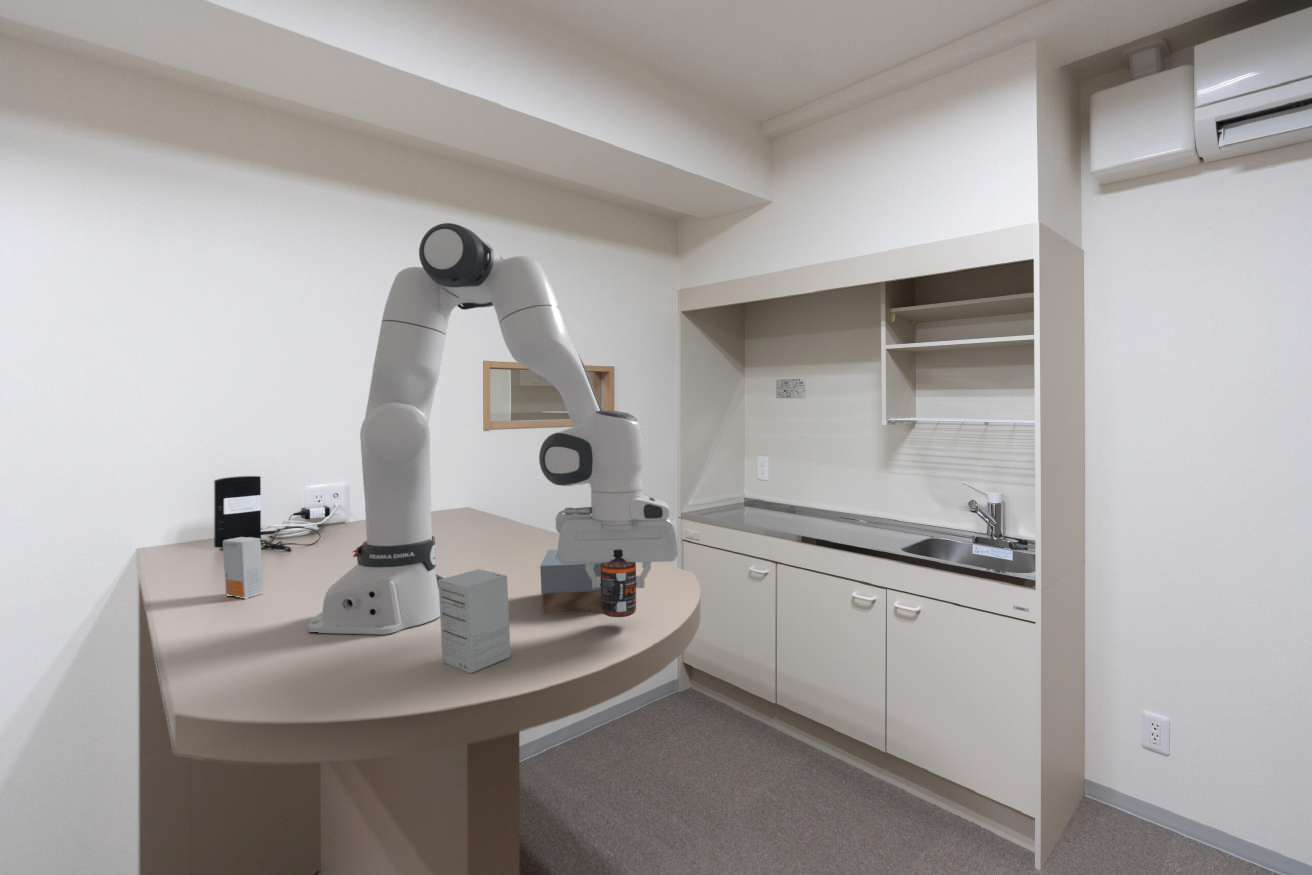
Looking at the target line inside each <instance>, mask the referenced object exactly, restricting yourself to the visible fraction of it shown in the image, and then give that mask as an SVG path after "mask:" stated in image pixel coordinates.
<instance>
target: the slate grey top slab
mask: <svg viewBox="0 0 1312 875" xmlns="http://www.w3.org/2000/svg"><path fill="white" fill-rule="evenodd" d="M539 569H540V571H539V572H540V593H541V595H543V594H551V593H573V592H596V591H601V589H592V579H591V578H590V576H589V575H588V573H587V571H586V570H585V563H581V564H562V563H561V562H560V561H559V559H558V548H557V549H547V552H546V554H545V556H544V558H543V559H542V562H541V563H540V567H539ZM592 570H593V571H594V573H595V575H596V577H601V563H594V569H592Z"/></svg>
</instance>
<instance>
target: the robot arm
mask: <svg viewBox="0 0 1312 875" xmlns="http://www.w3.org/2000/svg"><path fill="white" fill-rule="evenodd" d="M420 241H421V242H420V244H419V249H418V255H419V261H420V264H421V266H411V267H407V268H404V269H401V270H400V271H399V272H397V274H396V275H395V278H394V280H393V282H392V285H391V287H390V291H389V293H388V296H387V300H386V303H385V305H384V306H385V307H384V310H383V314H382V318H381V323H380V329H379V335H378V339H377V340H378V341H377V346H376V350H375V357H374V361H373V362H374V363H373V366H372V367H373V368H372V374H371V380H370V386H369V393H368V398H367V405H366V409H365V410H366V411H365V416H364V420H363V422H362V423H361V426H360V430H359V431H360V433H359V436H360V438H359V439H360V453H361V465H362V466H361V467H362V480H363V494H364V496H363V497H364V508H365V509H364V510H365V511H364V512H365V513H364V514H365V526H366V527H365V528H366V529H365V530H366V532H365V534H366V540H365V541H363V543H362V544H361V545H359V546H358V547H357V548H356V549H355V550H353V551H352V553H354V554H353V555H352V558H356V561H357V564H356V565H354V566H353V567H352V568H351V569H349V570H348V572H346V573H345V574H344V575H343V576H341V577H340V578H339V579H338V580H337V581H336V582H334V583H333V584H331V586H330V587H329V588H328V589H327V591H326V592H325V594H324V598H323V603H322V610H321V611H322V612H320V613H319V614H316V616H314V617H313V618H311V620H310V621H309V623H308V626H307V627H308V629H307V630H309V631H308V632H309V633H310V632H318V633H317V634H343V635H344V634H351V635H353V634H356V635H389V634H392V633H393V634H394V633H395V632H399V631H402V630H404V629H407V628H412V627H416V626H420V625H422V624H426V623H429V622H432V621H434V620H436V619H438V618H440V601H439V583H438V580H437V573H436V566H437V545H436V538H435V536H434V535H433V526H432V525H433V523H432V522H433V521H432V520H433V519H432V503H431V502H432V500H431V437H430V436H431V435H430V434H431V433H430V427H429V421H430V417H431V410H432V408H433V402H434V399H435V398H434V397H435V393H436V388H437V384H438V380H439V375H440V370H441V365H442V358H443V353H444V348H445V347H444V346H445V343H446V338H447V337H446V335H447V330H448V324H449V318H450V316H451V313H452V311H453V310H454V309H455V308H456V307H457V308H459V309H461V310H465V311H466V310H470V309H476V308H489V307H493V308H494V310H495V313H496V317H497V320H498V324H499V325H498V326H499V328H500V331H501V334H502V338H503V340H504V341H503V342H504V343H505V346H506V348H507V350H508V352H509V353H510V355H511V357H512V358H513V359H514V360H515V362H516V363H518V364H519V365H521V366H522V367H524V368H526V369H528V370H530V371H532V372H534V373H535V374H536V375H537V374H538V375H539V376H541V377H542V378H544V379H545V380H547V381H548V382H549V383H550V384H551V385H553V387H554V388H555V389H556V390H557V391H558V393H559V395H560V396H561V399H562V401H563V404H564V407H565V409H566V412H567V413H568V417H569V419H570V421H571V424H572V426H573V427H570V428H566V429H564V430H561V431H557V432H555V433H552V434H550V435H548V437H546V438H545V439H544V441H542V442H543V443H542V445H541V447H540V449H539V454H538V455H539V456H538V458H539V462H538V463H539V465H540V470H541V471H542V474H543V476H544V477H545V478H546V479H547V480H548V481H549V482H550V483H551V484H553V485H556V486H561V487H574V486H579V485H581V486H582V485H585V484H589V485H590V498H591V499H590V500H591V501H590V507H589V506H587V507H586V506H585V507H565V508H564V509H563V510H561V511H559V512H558V513H557V514H556V516H555V529H556V531H557V533H559V534H558V535H559V536H558V542H557V549H558V559H559V561H560V562H561V563H562V564H581V563H585V570H586V571H587V573H588V575H589V576H590V578H591V579H592V589H601V577H596V575H595V573H594V571H593V570H592V569H594V563H607V562H610V561H612V560H614V559H615V557H613V555H614V550H616V549H621V550H623V556H622V557H621V558H623V559H624V560H625V561H626V562H635V563H642V564H641V565H642V568H643V569H642V572H641V573H640V575H636V589H645V579H646V577H647V576H648V574H649V572H650V570H651V568H652V565H651V563H659V562H661V563H663V562H665V563H666V562H668V563H669V562H674V561H675V560H676V559H677V557H678V556H679V549H678V548H679V547H678V539H677V533H676V529H675V525H674V523H673V521H672V519H670V514H671V509H670V505H669V504H668V503H667V502H665V501H664V500H661V499H658V498H653V497H650V496H647V495H644V484H643V481H642V469H643V466H644V450H643V446H644V445H643V437H642V430H641V425H640V422H639V421H638V419H637V418H636V417H635V416H634V415H633V414H631V413H627V412H622V411H616V410H611V409H610V410H608V409H606V410H605V409H604V410H603V408H602V405H601V403H600V400H599V398H598V395H597V393H596V390H595V388H594V386H593V383H592V381H591V380H592V379H591V378H590V375H589V373H588V370H587V369H586V365H585V364H584V362H583V360H582V358H581V356H580V354H579V353H578V351H577V349H576V347H575V345H574V343H573V341H572V338H571V336H570V334H569V330H568V328H567V325H566V323H565V319H564V317H563V314H562V311H561V307H560V304H559V302H558V299H557V295H556V293H555V291H554V288H553V286H552V284H551V281H550V280H549V278H548V276H547V274H546V272H545V270H544V269H543V266H542V265H541V264H540V263H539V262H538V260H535V259H534V258H532V257H528V256H521V255H519V256H512V257H508V258H502V256H500V255H499V254H498V252H496V250H495V249H494V248H493V247H492V246H491V245H490V244H489V243H487V241H485V240H483V239H481V238H480V237H479V236H478V235H477V234H476V233H475V232H473V231H472V230H470V229H469V228H466V227H464V226H462V225H459V224H456V223H449V222H445V223H439V224H437V225H435V226H432V227H431V228H430V229H428V231H426V233H425V234H424V235H423V237H422V239H421V240H420Z"/></svg>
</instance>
